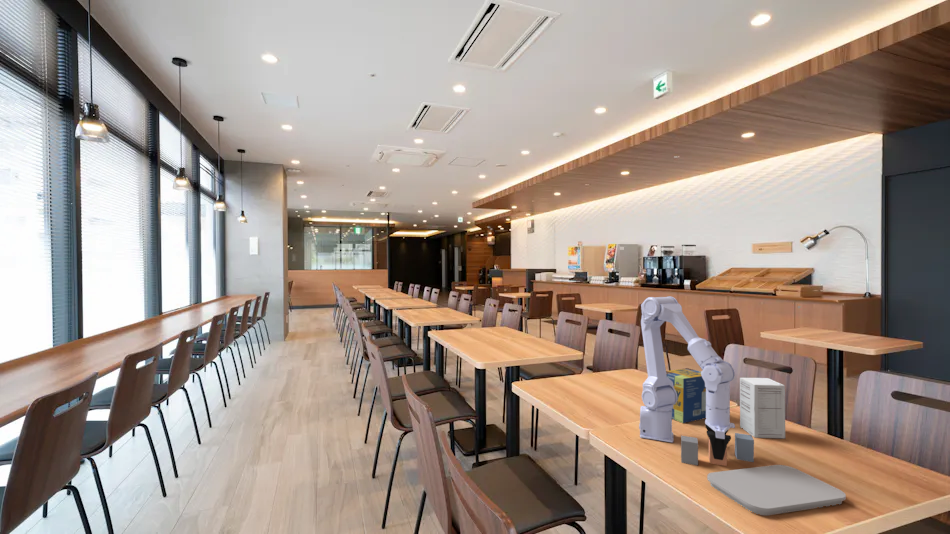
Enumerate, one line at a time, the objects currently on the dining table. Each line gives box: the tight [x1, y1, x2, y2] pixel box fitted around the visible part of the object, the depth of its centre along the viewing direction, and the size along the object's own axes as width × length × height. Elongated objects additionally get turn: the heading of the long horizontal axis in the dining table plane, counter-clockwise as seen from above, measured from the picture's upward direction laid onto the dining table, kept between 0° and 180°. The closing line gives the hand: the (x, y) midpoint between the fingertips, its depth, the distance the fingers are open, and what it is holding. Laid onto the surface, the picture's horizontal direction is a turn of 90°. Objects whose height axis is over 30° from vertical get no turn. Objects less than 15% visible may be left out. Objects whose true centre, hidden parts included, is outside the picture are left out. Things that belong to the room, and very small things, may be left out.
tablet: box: [707, 464, 847, 516], centre depth 100 cm, size 16×26×2 cm, turn 103°
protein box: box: [666, 367, 706, 424], centre depth 153 cm, size 10×15×16 cm
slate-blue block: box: [734, 432, 755, 463], centre depth 119 cm, size 4×4×6 cm
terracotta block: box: [708, 438, 728, 467], centre depth 116 cm, size 4×4×6 cm
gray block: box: [680, 435, 699, 466], centre depth 116 cm, size 4×4×6 cm
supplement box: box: [739, 377, 786, 439], centre depth 137 cm, size 10×9×17 cm
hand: (717, 455), depth 116 cm, fingers closed on terracotta block, 4 cm apart
